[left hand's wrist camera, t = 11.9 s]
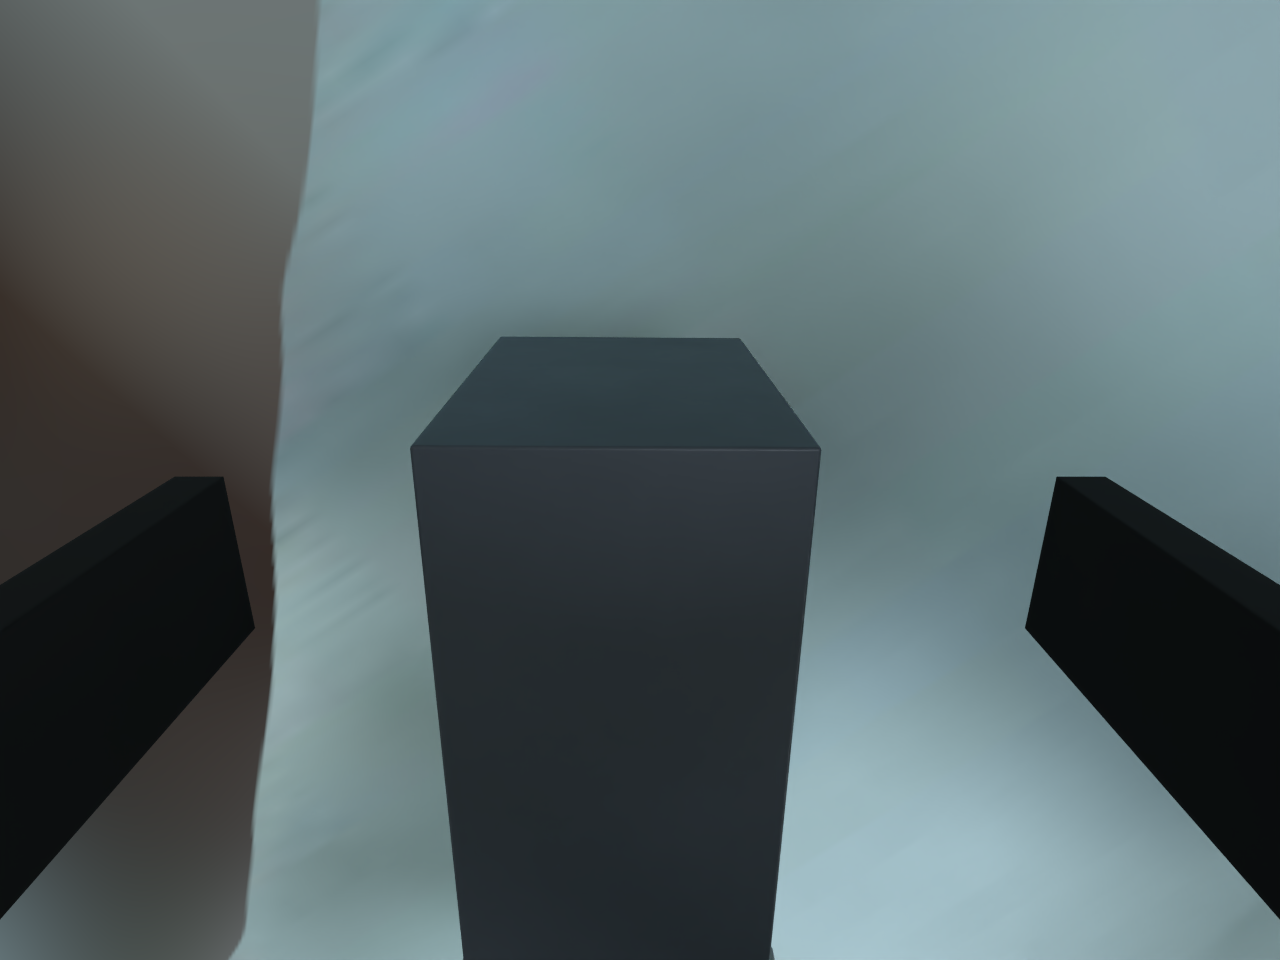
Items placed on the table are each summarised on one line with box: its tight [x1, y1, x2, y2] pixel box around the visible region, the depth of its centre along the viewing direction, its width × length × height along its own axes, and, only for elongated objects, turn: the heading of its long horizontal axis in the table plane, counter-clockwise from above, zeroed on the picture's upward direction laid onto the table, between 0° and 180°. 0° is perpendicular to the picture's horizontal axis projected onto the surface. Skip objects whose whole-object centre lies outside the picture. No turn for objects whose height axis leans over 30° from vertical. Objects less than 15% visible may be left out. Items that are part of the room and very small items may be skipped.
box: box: [410, 337, 821, 960], centre depth 20 cm, size 22×6×9 cm, turn 179°
